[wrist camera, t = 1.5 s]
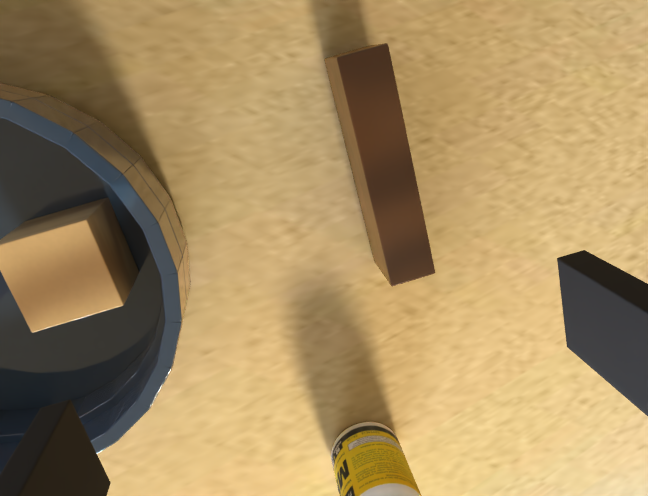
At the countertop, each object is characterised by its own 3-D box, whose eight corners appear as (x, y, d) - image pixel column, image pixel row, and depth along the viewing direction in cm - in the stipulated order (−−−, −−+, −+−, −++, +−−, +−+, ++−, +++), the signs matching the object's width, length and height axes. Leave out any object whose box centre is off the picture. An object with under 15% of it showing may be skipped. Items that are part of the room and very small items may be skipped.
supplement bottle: (325, 428, 36) (349, 528, 28) (394, 412, 37) (436, 507, 29) (335, 485, 38) (360, 595, 30) (401, 469, 38) (443, 574, 30)
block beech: (24, 221, 29) (-12, 248, 25) (108, 196, 29) (86, 219, 25) (60, 296, 30) (31, 333, 26) (139, 272, 31) (123, 305, 26)
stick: (323, 58, 29) (336, 57, 25) (369, 45, 29) (388, 42, 25) (374, 262, 33) (391, 287, 29) (413, 250, 33) (435, 273, 29)
